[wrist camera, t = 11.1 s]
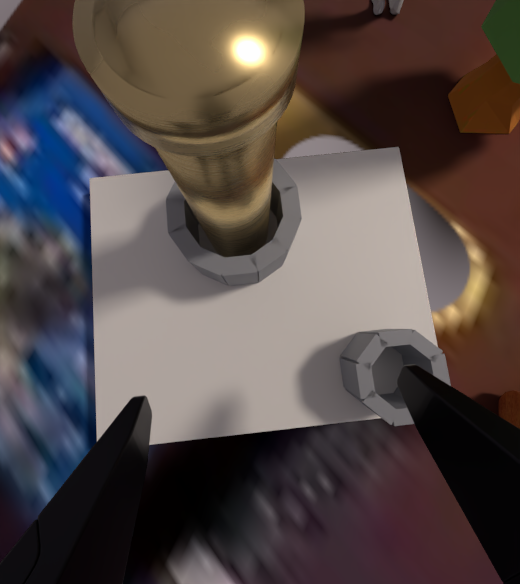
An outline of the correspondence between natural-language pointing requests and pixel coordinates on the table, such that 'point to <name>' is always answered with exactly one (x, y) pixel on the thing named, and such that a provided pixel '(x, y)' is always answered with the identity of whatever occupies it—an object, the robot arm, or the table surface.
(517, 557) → the robot arm
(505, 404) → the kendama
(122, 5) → the disc
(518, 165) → the table surface
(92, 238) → the socket plate
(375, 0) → the human figurine
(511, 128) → the decorative tree
